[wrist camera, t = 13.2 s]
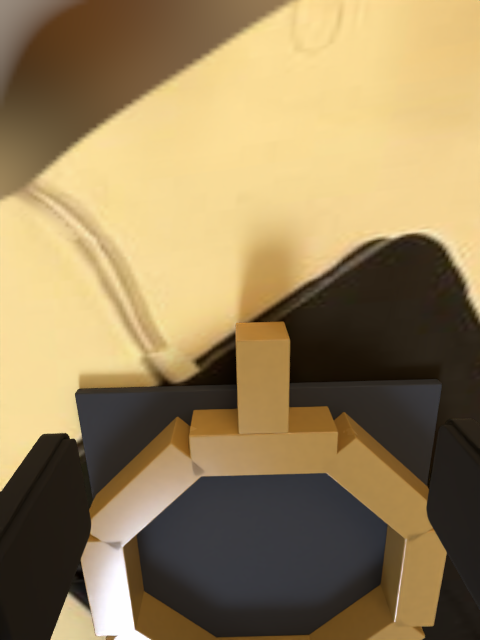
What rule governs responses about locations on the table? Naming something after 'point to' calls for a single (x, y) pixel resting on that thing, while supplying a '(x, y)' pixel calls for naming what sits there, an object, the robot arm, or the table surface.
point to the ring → (263, 459)
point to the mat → (260, 507)
